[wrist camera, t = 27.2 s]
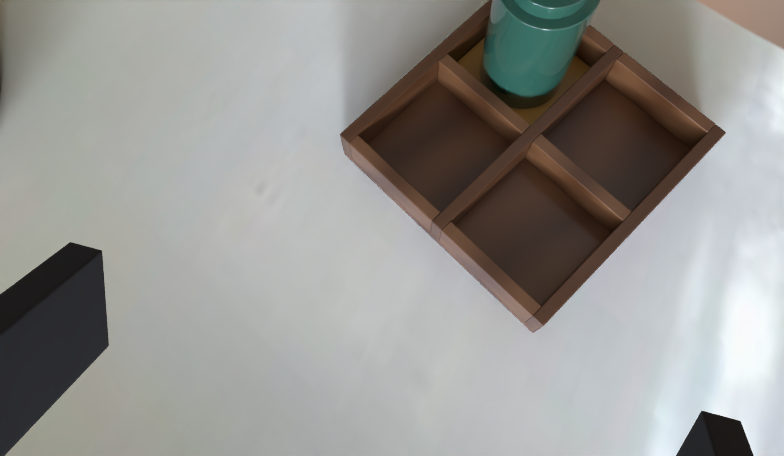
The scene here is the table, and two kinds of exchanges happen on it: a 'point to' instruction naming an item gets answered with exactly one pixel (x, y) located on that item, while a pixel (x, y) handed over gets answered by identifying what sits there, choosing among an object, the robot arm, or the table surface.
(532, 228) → the tray
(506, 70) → the green bottle
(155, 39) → the table surface
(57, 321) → the robot arm
